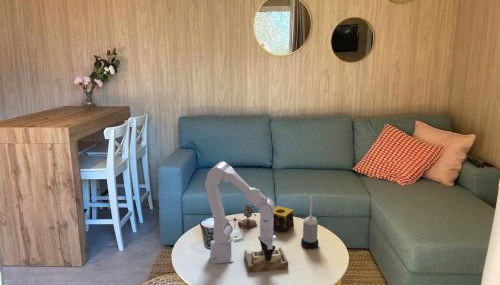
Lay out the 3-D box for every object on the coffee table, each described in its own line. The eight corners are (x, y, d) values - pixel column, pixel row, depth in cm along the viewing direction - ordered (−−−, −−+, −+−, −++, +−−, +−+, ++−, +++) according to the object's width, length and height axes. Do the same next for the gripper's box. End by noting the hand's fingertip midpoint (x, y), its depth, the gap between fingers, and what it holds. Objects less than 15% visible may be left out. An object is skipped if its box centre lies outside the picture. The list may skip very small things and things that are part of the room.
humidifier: (300, 248, 178) (301, 198, 172) (302, 240, 186) (303, 192, 180) (317, 250, 176) (319, 200, 171) (318, 242, 184) (320, 194, 178)
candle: (294, 227, 200) (294, 209, 198) (285, 234, 192) (285, 216, 190) (277, 222, 206) (277, 205, 203) (268, 229, 197) (268, 212, 195)
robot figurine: (245, 231, 196) (244, 209, 193) (233, 225, 203) (233, 204, 200) (260, 224, 203) (260, 203, 200) (249, 219, 210) (249, 198, 207)
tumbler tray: (253, 265, 161) (253, 257, 160) (251, 259, 166) (251, 251, 165) (281, 263, 163) (281, 254, 162) (278, 257, 168) (278, 248, 167)
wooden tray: (249, 272, 159) (249, 266, 158) (244, 256, 171) (244, 250, 170) (288, 268, 161) (288, 262, 161) (280, 253, 174) (280, 247, 173)
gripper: (279, 234, 154) (279, 264, 158) (272, 219, 168) (271, 247, 171) (263, 235, 153) (262, 265, 156) (256, 220, 167) (256, 248, 170)
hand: (266, 256), depth 164 cm, fingers open, 6 cm apart
